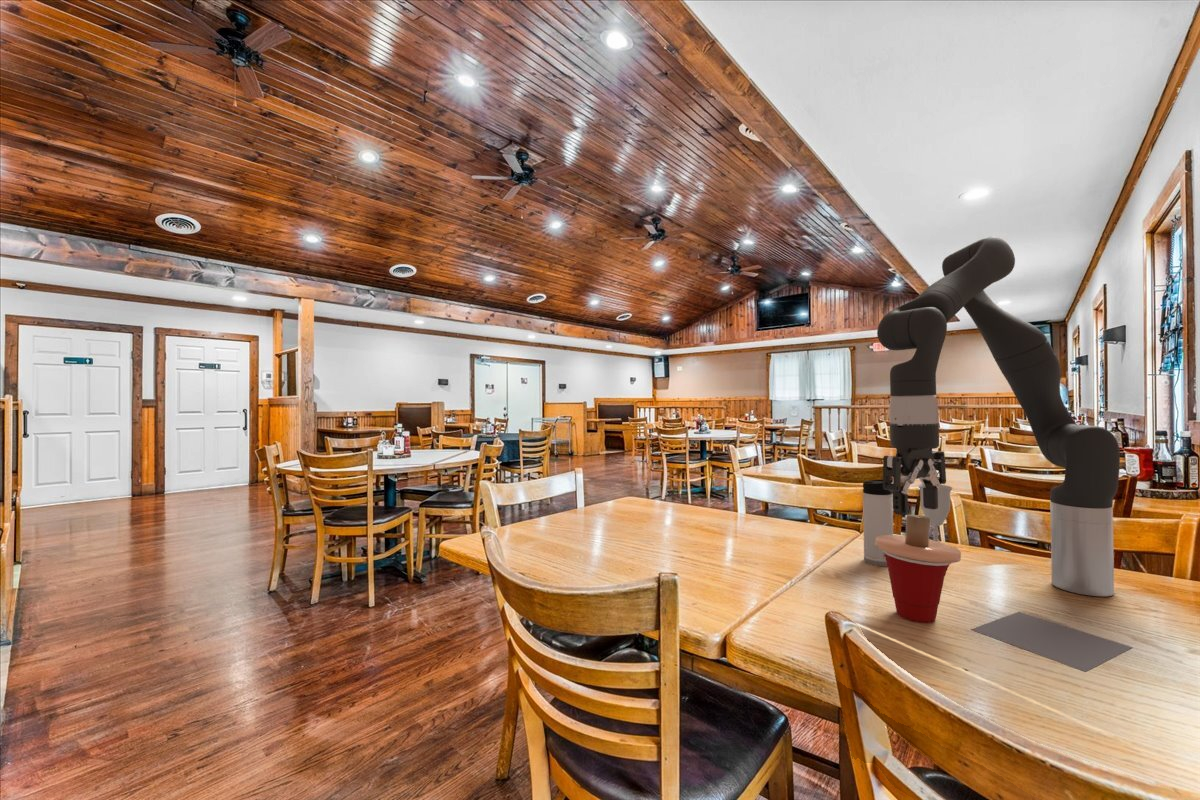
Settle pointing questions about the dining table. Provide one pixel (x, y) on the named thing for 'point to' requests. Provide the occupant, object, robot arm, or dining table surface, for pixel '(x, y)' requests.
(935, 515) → the chalice
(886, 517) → the travel mug
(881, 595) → the dining table surface
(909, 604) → the plastic cup
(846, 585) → the dining table surface
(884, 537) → the lid
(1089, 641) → the mat
